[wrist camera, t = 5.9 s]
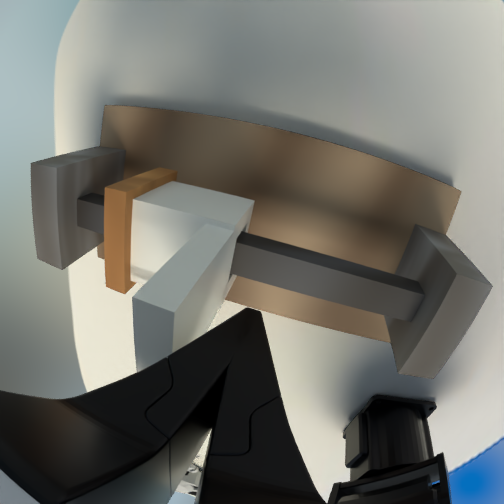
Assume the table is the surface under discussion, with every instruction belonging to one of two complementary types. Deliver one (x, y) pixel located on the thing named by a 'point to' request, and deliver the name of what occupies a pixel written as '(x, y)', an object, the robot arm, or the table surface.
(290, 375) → the table surface
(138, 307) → the white l-bracket
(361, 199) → the rail board
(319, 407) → the table surface
